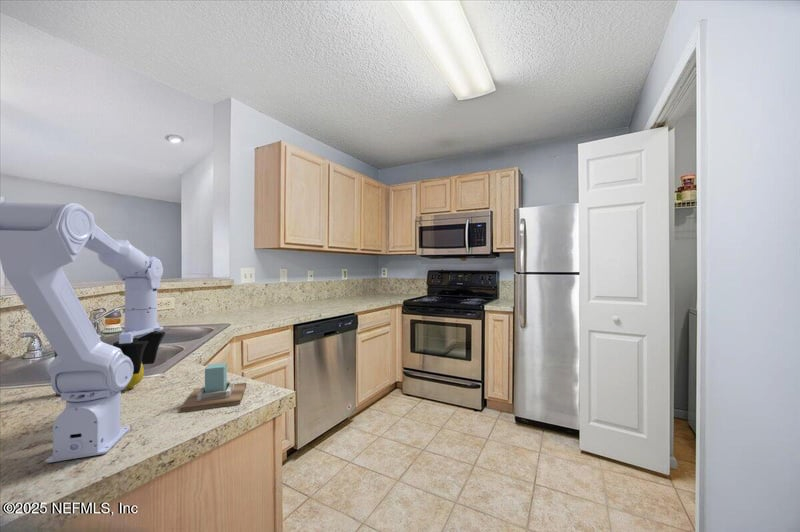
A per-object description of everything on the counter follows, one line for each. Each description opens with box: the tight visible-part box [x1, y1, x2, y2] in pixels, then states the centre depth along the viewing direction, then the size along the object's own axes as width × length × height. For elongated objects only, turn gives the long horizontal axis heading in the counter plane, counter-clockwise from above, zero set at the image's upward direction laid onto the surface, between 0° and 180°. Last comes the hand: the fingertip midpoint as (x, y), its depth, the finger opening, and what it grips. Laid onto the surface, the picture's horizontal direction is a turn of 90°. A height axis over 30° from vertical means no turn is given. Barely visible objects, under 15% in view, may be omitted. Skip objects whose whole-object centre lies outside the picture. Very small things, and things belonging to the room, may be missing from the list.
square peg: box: [204, 362, 228, 393], centre depth 78 cm, size 4×4×7 cm
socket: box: [179, 381, 247, 413], centre depth 78 cm, size 12×12×2 cm
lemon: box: [125, 362, 145, 390], centre depth 84 cm, size 6×6×8 cm
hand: (141, 368), depth 72 cm, fingers open, 7 cm apart
